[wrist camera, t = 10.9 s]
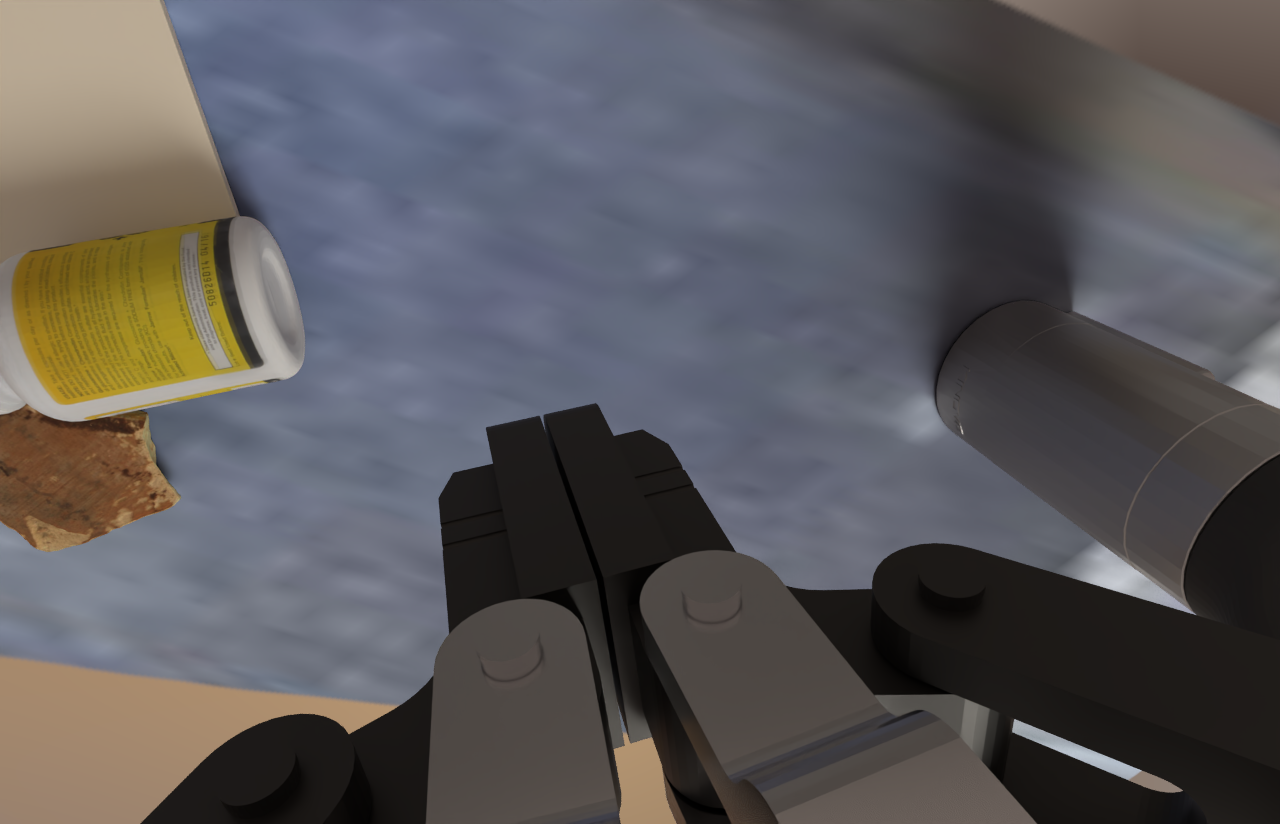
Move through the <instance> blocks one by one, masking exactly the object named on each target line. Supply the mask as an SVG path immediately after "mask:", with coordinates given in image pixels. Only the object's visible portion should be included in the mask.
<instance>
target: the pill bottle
mask: <svg viewBox="0 0 1280 824" xmlns="http://www.w3.org/2000/svg"><path fill="white" fill-rule="evenodd" d="M304 354H305V333H304V327H303V321H302V315H301V311H300V307H299V303H298V299H297V295H296V291H295V288H294V285H293V281H292V278H291V275H290V273H289V270H288V267H287V264H286V262H285V259H284V257H283V255H282V252H281V250H280V248H279V246H278V244H277V242H276V241H275V239H274V237H273V236H272V234H271V233H270V232H269V230H268V229H267V228H266V227H265V226H264V225H263V224H262V223H261V222H259V221H258V220H256V219H254V218H251V217H246V216H239V217H230V218H224V219H217V220H211V221H205V222H201V223H194V224H188V225H181V226H175V227H169V228H163V229H157V230H151V231H144V232H139V233H133V234H127V235H120V236H115V237H109V238H103V239H97V240H91V241H85V242H79V243H74V244H68V245H63V246H56V247H50V248H45V249H38V250H32V251H28V252H24V253H20V254H17V255H14V256H12V257H10V258H8V259H7V260H5V261H4V262H3V263H1V264H0V414H7V413H11V412H13V411H15V410H19V409H20V408H22V407H23V406H25V404H28V405H29V406H30V407H32V408H33V409H35V410H37V411H38V412H40V413H42V414H44V415H46V416H49V417H52V418H54V419H58V420H63V421H71V422H74V421H87V420H93V419H98V418H103V417H108V416H113V415H118V414H123V413H127V412H132V411H137V410H141V409H146V408H151V407H155V406H160V405H165V404H169V403H174V402H179V401H183V400H188V399H192V398H197V397H202V396H207V395H212V394H217V393H221V392H226V391H231V390H236V389H241V388H245V387H250V386H255V385H261V384H266V383H270V382H276V381H280V380H285V379H287V378H290V377H292V376H293V375H295V374H296V373H297V372H298V371H299V369H300V368H301V366H302V364H303V360H304Z"/></svg>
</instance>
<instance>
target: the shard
mask: <svg viewBox="0 0 1280 824" xmlns="http://www.w3.org/2000/svg"><path fill="white" fill-rule="evenodd" d="M180 499H181V496H180V495H179V494H178V493H177V491H176V490H175V489H174V488H173V486H172V485H171V484H170V483H169V482H168V481H167V479H166V478H165V476H164V475H163V474H162V473H161V471H160V470H159V468H158V467H157V465H156V453H155V445H154V443H153V442H152V440H151V433H150V430H149V418H148V414H147V412H142V411H138V410H137V411H132V412H127V413H123V414H118V415H113V416H108V417H103V418H98V419H93V420H87V421H74V422H71V421H63V420H58V419H54V418H52V417H49V416H46V415H44V414H42V413H40V412H38V411H37V410H35V409H33V408H32V407H30V406H29V405H28V404H25V406H23V407H22V408H20V409H19V410H15V411H13V412H11V413H7V414H0V521H1V522H2V523H3V524H4V525H6V526H7V527H9V528H11V529H14V530H16V531H17V532H18V533H19V534H20V535H21V536H23V537H24V539H25V540H27V541H28V542H29V543H30V544H31V545H32V546H33V547H35V548H36V549H39V550H43V551H46V552H51V551H58V550H61V549H64V548H67V547H71V546H75V545H80V544H83V543H86V542H89V541H90V540H92V539H95V538H97V537H99V536H102V535H105V534H107V533H109V532H110V531H111V530H113V529H116V528H120V527H122V526H124V525H127V524H129V523H131V522H134V521H136V520H138V519H140V518H142V517H145V516H148V515H151V514H155V513H158V512H161V511H164V510H166V509H169V508H171V507H172V506H174V505H175V504H176V503H177V502H178V501H179V500H180Z"/></svg>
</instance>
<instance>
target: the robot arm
mask: <svg viewBox="0 0 1280 824" xmlns="http://www.w3.org/2000/svg"><path fill="white" fill-rule="evenodd" d="M936 391H937V406H938V410H939V413H940V416H941V418H942V420H943V421H944V423H945V425H946V426H947V427H948V428H949V429H950V430H951V431H952V432H954V433H955V434H956V435H957V436H959V437H960V438H961V439H963V440H964V441H965V442H967V443H968V444H969V445H971V446H972V447H973V448H975V449H976V450H977V451H979V452H980V453H981V454H983V455H984V456H985V457H987V458H988V459H989V460H991V461H992V462H993V463H994V464H995V465H997V466H998V467H999V468H1001V469H1002V470H1003V471H1005V472H1006V473H1007V474H1009V475H1010V476H1011V477H1013V478H1014V479H1015V480H1017V481H1018V482H1019V483H1021V484H1022V485H1023V486H1025V487H1026V488H1027V489H1029V490H1030V491H1032V492H1033V493H1034V494H1036V495H1037V496H1038V497H1040V498H1041V499H1042V500H1044V501H1045V502H1046V503H1048V504H1049V505H1050V506H1052V507H1053V508H1054V509H1056V510H1057V511H1058V512H1060V513H1061V514H1062V515H1064V516H1065V517H1066V518H1068V519H1069V520H1070V521H1072V522H1073V523H1074V524H1076V525H1077V526H1078V527H1080V528H1081V529H1082V530H1084V531H1085V532H1086V533H1088V534H1089V535H1090V536H1092V537H1093V538H1094V539H1096V540H1097V541H1098V542H1100V543H1101V544H1102V545H1104V546H1105V547H1106V548H1108V549H1109V550H1110V551H1112V552H1113V553H1114V554H1116V555H1117V556H1118V557H1120V558H1121V559H1122V560H1124V561H1125V562H1126V563H1128V564H1129V565H1130V566H1132V567H1133V568H1134V569H1136V570H1137V571H1139V572H1140V573H1141V574H1143V575H1144V576H1145V577H1147V578H1148V579H1149V580H1151V581H1152V582H1153V583H1155V584H1156V585H1157V586H1159V587H1160V588H1161V589H1163V590H1164V591H1165V592H1167V593H1168V594H1169V595H1171V596H1172V597H1173V598H1175V599H1176V600H1177V601H1179V602H1180V603H1181V604H1183V605H1184V606H1185V607H1187V608H1188V609H1189V610H1191V611H1192V612H1194V613H1195V614H1196V615H1194V614H1190V613H1187V612H1184V611H1180V610H1177V609H1174V608H1170V607H1167V606H1163V605H1160V604H1157V603H1153V602H1150V601H1147V600H1143V599H1140V598H1137V597H1133V596H1130V595H1127V594H1123V593H1120V592H1116V591H1113V590H1110V589H1106V588H1103V587H1100V586H1096V585H1093V584H1090V583H1086V582H1083V581H1080V580H1076V579H1073V578H1069V577H1066V576H1063V575H1059V574H1056V573H1053V572H1049V571H1046V570H1043V569H1039V568H1036V567H1033V566H1029V565H1026V564H1022V563H1019V562H1016V561H1012V560H1009V559H1006V558H1002V557H999V556H996V555H992V554H989V553H986V552H982V551H979V550H975V549H972V548H968V547H964V546H959V545H952V544H938V543H932V544H920V545H915V546H910V547H907V548H904V549H901V550H898V551H896V552H894V553H892V554H891V555H889V556H888V557H887V558H885V559H884V560H883V561H882V562H881V563H880V564H879V566H878V567H877V569H876V571H875V573H874V576H873V581H872V589H857V590H806V589H798V588H793V587H788V586H785V585H784V584H783V582H782V581H781V580H780V579H779V577H778V576H777V575H776V574H775V573H774V572H773V571H772V570H771V569H770V568H769V567H768V566H766V565H765V564H763V563H762V562H760V561H758V560H756V559H754V558H752V557H750V556H747V555H744V554H741V553H736V551H735V550H734V548H733V546H732V545H731V543H730V542H729V540H728V538H727V537H726V535H725V534H724V532H723V530H722V529H721V527H720V526H719V524H718V522H717V521H716V519H715V518H714V516H713V514H712V513H711V511H710V510H709V508H708V506H707V505H706V503H705V502H704V500H703V498H702V497H701V495H700V494H699V492H698V490H697V489H696V488H694V486H693V482H692V481H691V479H690V478H689V476H688V474H687V473H686V471H685V470H683V468H682V465H681V463H680V462H679V460H678V458H677V457H676V455H675V454H674V452H673V450H672V449H671V447H670V446H669V444H667V443H665V442H664V441H662V440H660V439H658V438H657V437H655V436H653V435H651V434H650V433H648V432H646V431H644V430H638V431H634V432H629V433H625V434H620V435H616V436H613V434H612V432H611V430H610V428H609V426H608V424H607V422H606V420H605V418H604V416H603V414H602V412H601V410H600V408H599V406H598V405H597V404H596V403H595V404H590V405H586V406H581V407H576V408H572V409H567V410H563V411H558V412H554V413H549V414H545V415H544V425H545V430H544V427H543V424H542V421H541V418H540V416H536V417H532V418H527V419H522V420H518V421H513V422H509V423H504V424H500V425H495V426H491V427H486V431H487V436H488V441H489V446H490V451H491V455H492V460H493V464H490V465H485V466H481V467H476V468H472V469H468V470H463V471H459V472H454V473H453V474H452V476H451V478H450V479H449V481H448V483H447V485H446V486H445V488H444V490H443V491H442V493H441V495H440V497H439V509H440V522H441V527H442V529H441V535H442V546H443V560H444V573H445V585H446V598H447V611H448V623H449V635H448V636H447V637H446V639H445V640H444V642H443V643H442V645H441V647H440V648H439V651H438V654H437V656H436V659H435V665H434V675H433V677H432V678H431V679H430V680H429V681H428V683H427V684H426V685H425V686H424V687H423V688H422V689H420V690H419V691H418V692H417V693H416V694H415V695H414V696H412V697H411V698H410V699H409V700H407V701H406V702H405V703H403V704H402V705H400V706H398V707H397V708H395V709H394V710H392V711H390V712H389V713H387V714H385V715H383V716H381V717H380V718H378V719H376V720H374V721H372V722H371V723H369V724H367V725H365V726H363V727H361V728H360V729H358V730H356V731H354V732H352V733H351V734H348V733H347V731H346V730H345V729H344V727H342V726H341V725H340V724H339V723H337V722H336V721H334V720H331V719H329V718H327V717H324V716H320V715H315V714H295V715H287V716H283V717H278V718H274V719H271V720H268V721H265V722H263V723H260V724H258V725H255V726H253V727H251V728H249V729H247V730H245V731H243V732H241V733H240V734H238V735H236V736H235V737H233V738H231V739H230V740H228V741H227V742H225V743H224V744H223V745H221V746H220V747H219V748H217V749H216V750H215V751H214V752H212V753H211V754H210V755H209V756H208V757H207V758H206V759H205V760H204V761H203V762H201V763H200V764H199V766H198V767H196V768H195V769H194V770H193V772H191V773H190V774H189V776H187V778H186V779H184V780H183V782H181V783H180V784H179V785H178V786H177V787H176V788H175V789H174V791H172V793H170V795H168V796H167V797H166V798H165V800H163V802H161V803H160V804H159V806H158V807H157V808H156V809H155V810H154V811H153V812H152V813H151V814H150V815H149V816H148V817H147V818H146V819H145V820H144V821H143V822H142V823H141V824H621V823H620V818H619V811H620V807H621V789H620V783H619V778H618V772H617V766H616V761H615V755H614V750H613V749H615V748H618V747H622V746H624V740H623V733H622V728H621V722H620V716H619V710H618V706H619V709H620V712H621V715H622V718H623V722H624V725H625V728H626V731H627V734H628V737H629V741H630V743H633V742H637V741H640V740H643V739H647V738H650V737H652V738H653V741H654V744H655V747H656V749H657V752H658V755H659V758H660V761H661V764H662V768H663V775H664V784H665V791H666V798H667V801H668V804H669V807H670V809H671V812H672V814H673V816H674V819H675V821H676V823H677V824H1280V409H1278V408H1276V407H1274V406H1271V405H1268V404H1266V403H1264V402H1262V401H1260V400H1257V399H1255V398H1253V397H1251V396H1249V395H1246V394H1244V393H1242V392H1240V391H1237V390H1235V389H1233V388H1231V387H1229V386H1226V385H1224V384H1222V383H1220V382H1217V381H1215V378H1214V375H1213V374H1212V373H1211V372H1210V371H1209V370H1207V369H1205V368H1202V367H1200V366H1198V365H1195V364H1193V363H1191V362H1189V361H1186V360H1184V359H1182V358H1179V357H1177V356H1175V355H1173V354H1170V353H1168V352H1166V351H1163V350H1161V349H1159V348H1157V347H1154V346H1152V345H1150V344H1147V343H1145V342H1143V341H1141V340H1138V339H1136V338H1134V337H1132V336H1129V335H1127V334H1125V333H1122V332H1120V331H1118V330H1116V329H1113V328H1111V327H1109V326H1106V325H1104V324H1102V323H1100V322H1097V321H1095V320H1093V319H1090V318H1088V317H1086V316H1084V315H1081V314H1079V313H1077V312H1074V311H1072V312H1068V313H1065V312H1062V311H1060V310H1058V309H1056V308H1053V307H1051V306H1049V305H1047V304H1043V303H1040V302H1037V301H1016V302H1012V303H1007V304H1004V305H1002V306H1000V307H997V308H995V309H993V310H991V311H989V312H988V313H986V314H985V315H983V316H982V317H980V318H979V319H977V320H976V321H975V322H974V323H973V324H972V325H971V326H969V327H968V328H967V329H966V330H965V331H964V332H963V333H962V335H961V336H960V337H959V338H958V340H957V341H956V342H955V343H954V345H953V346H952V348H951V350H950V352H949V353H948V355H947V357H946V358H945V361H944V363H943V366H942V369H941V371H940V374H939V378H938V384H937V389H936ZM545 431H546V433H545ZM617 703H618V704H617ZM1014 719H1016V720H1019V721H1021V722H1024V723H1026V724H1028V725H1031V726H1033V727H1036V728H1038V729H1041V730H1043V731H1046V732H1048V733H1051V734H1053V735H1056V736H1058V737H1061V738H1063V739H1066V740H1068V741H1071V742H1073V743H1075V744H1078V745H1080V746H1083V747H1085V748H1088V749H1090V750H1093V751H1095V752H1098V753H1100V754H1103V755H1105V756H1108V757H1110V758H1113V759H1115V760H1118V761H1120V762H1122V763H1125V764H1127V765H1130V766H1132V767H1135V768H1137V769H1140V770H1142V771H1145V772H1147V773H1150V774H1152V775H1155V776H1157V777H1160V778H1162V779H1164V780H1166V781H1168V782H1170V783H1172V784H1174V785H1175V786H1177V787H1179V788H1180V789H1182V790H1183V791H1182V792H1175V793H1166V792H1159V791H1155V790H1151V789H1148V788H1146V787H1143V786H1141V785H1138V784H1136V783H1133V782H1131V781H1128V780H1126V779H1124V778H1121V777H1119V776H1116V775H1114V774H1112V773H1109V772H1107V771H1104V770H1102V769H1099V768H1097V767H1095V766H1092V765H1090V764H1087V763H1085V762H1083V761H1080V760H1078V759H1075V758H1073V757H1070V756H1068V755H1066V754H1063V753H1061V752H1058V751H1056V750H1054V749H1051V748H1049V747H1046V746H1044V745H1041V744H1039V743H1037V742H1034V741H1032V740H1029V739H1027V738H1025V737H1022V736H1020V735H1017V734H1015V733H1012V728H1013V722H1014Z"/></svg>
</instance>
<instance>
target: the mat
mask: <svg viewBox="0 0 1280 824" xmlns="http://www.w3.org/2000/svg"><path fill="white" fill-rule="evenodd" d="M239 216H240V215H239V212H238V209H237V206H236V203H235V200H234V198H233V195H232V192H231V189H230V186H229V184H228V181H227V178H226V175H225V172H224V169H223V167H222V164H221V161H220V158H219V155H218V153H217V150H216V147H215V144H214V141H213V138H212V136H211V133H210V130H209V127H208V124H207V121H206V119H205V116H204V113H203V110H202V107H201V105H200V102H199V99H198V96H197V93H196V90H195V88H194V85H193V82H192V79H191V76H190V74H189V71H188V68H187V65H186V62H185V59H184V57H183V54H182V51H181V48H180V45H179V42H178V40H177V37H176V34H175V31H174V28H173V26H172V23H171V20H170V17H169V14H168V11H167V9H166V6H165V3H164V0H0V264H1V263H3V262H4V261H5V260H7V259H8V258H10V257H12V256H14V255H17V254H20V253H24V252H28V251H32V250H38V249H45V248H50V247H56V246H63V245H68V244H74V243H79V242H85V241H91V240H97V239H103V238H109V237H115V236H120V235H127V234H133V233H139V232H144V231H151V230H157V229H163V228H169V227H175V226H181V225H188V224H194V223H201V222H205V221H211V220H217V219H224V218H230V217H239Z"/></svg>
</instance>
